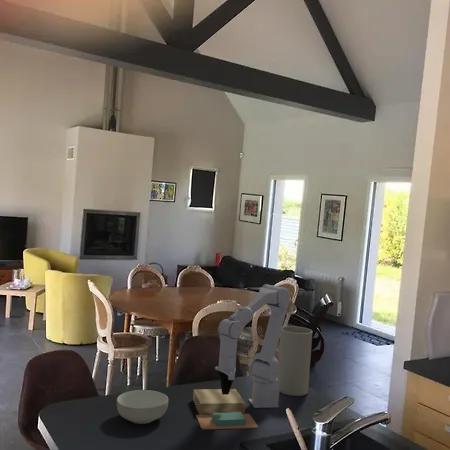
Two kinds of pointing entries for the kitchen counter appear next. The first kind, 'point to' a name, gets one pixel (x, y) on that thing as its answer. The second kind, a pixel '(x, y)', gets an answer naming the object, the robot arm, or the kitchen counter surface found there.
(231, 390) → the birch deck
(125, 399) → the cereal bowl
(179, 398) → the kitchen counter surface
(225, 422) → the teal rectangular block
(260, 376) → the robot arm
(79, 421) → the kitchen counter surface
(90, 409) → the kitchen counter surface
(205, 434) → the kitchen counter surface
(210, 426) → the terracotta mat
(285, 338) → the cylinder vase
